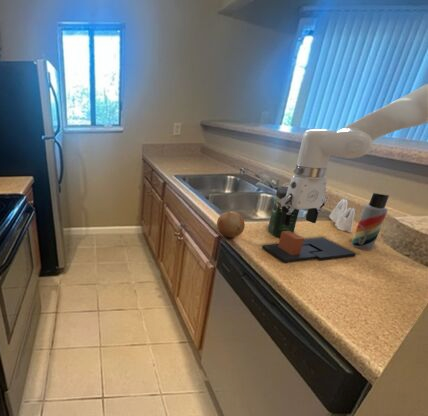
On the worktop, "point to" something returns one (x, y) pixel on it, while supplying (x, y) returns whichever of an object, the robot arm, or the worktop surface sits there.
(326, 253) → the charcoal pad
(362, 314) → the worktop surface
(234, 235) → the brown ball
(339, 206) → the shaker set
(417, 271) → the worktop surface
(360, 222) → the lotion bottle
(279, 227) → the coffee jar
